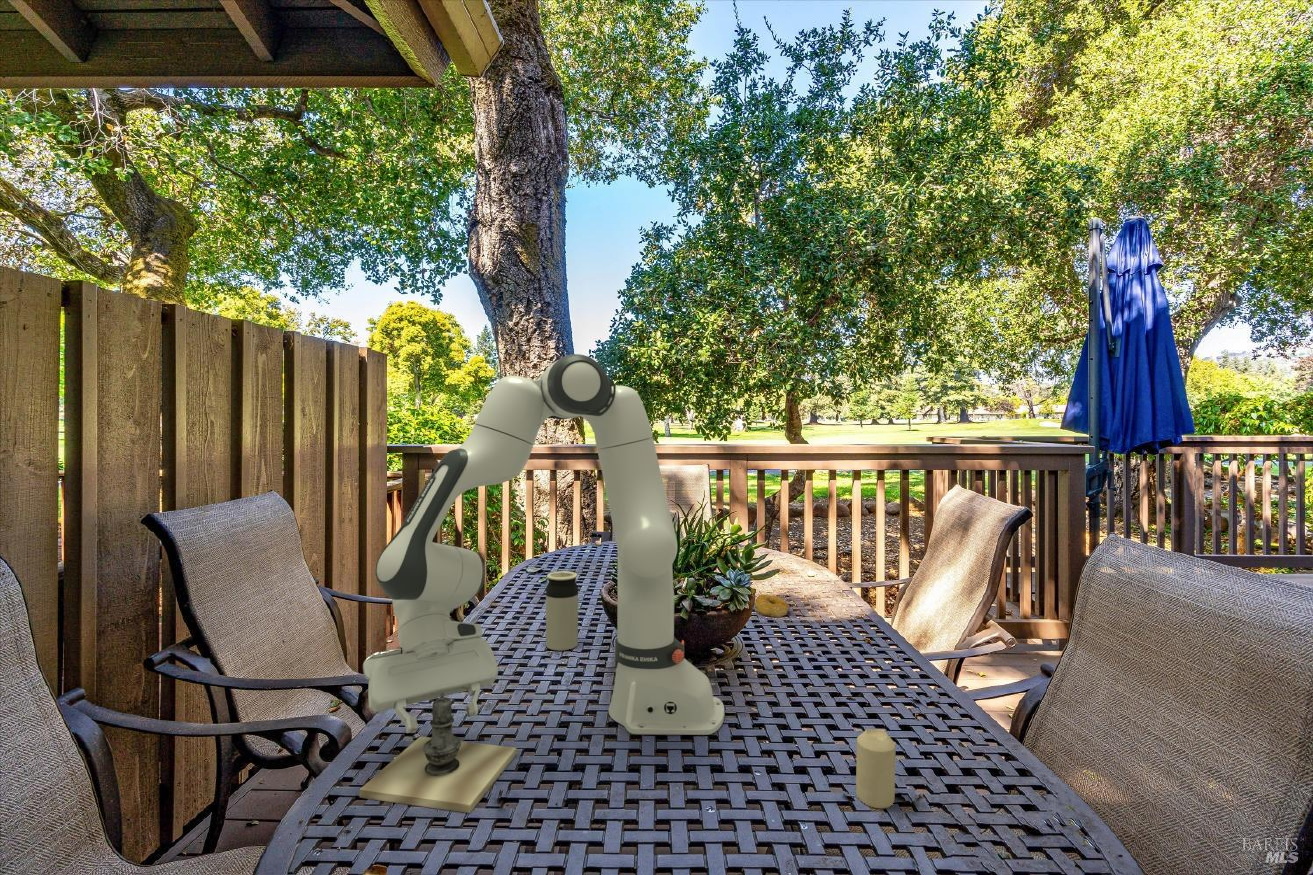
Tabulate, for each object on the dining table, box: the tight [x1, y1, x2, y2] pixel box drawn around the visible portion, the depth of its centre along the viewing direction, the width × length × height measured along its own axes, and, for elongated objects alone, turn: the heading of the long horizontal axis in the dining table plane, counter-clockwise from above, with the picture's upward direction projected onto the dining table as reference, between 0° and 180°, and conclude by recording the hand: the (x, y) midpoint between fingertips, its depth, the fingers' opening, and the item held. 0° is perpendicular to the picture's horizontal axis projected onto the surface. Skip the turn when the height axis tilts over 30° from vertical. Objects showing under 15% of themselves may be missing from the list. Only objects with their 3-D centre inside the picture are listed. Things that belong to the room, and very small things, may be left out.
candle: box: [855, 728, 896, 809], centre depth 94 cm, size 6×6×10 cm
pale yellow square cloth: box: [358, 736, 517, 814], centre depth 99 cm, size 18×16×1 cm
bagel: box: [754, 594, 789, 619], centre depth 185 cm, size 10×11×5 cm
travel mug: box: [545, 570, 579, 652], centre depth 156 cm, size 8×8×18 cm
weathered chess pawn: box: [423, 693, 462, 776], centre depth 99 cm, size 6×6×12 cm
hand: (443, 722), depth 99 cm, fingers open, 8 cm apart
